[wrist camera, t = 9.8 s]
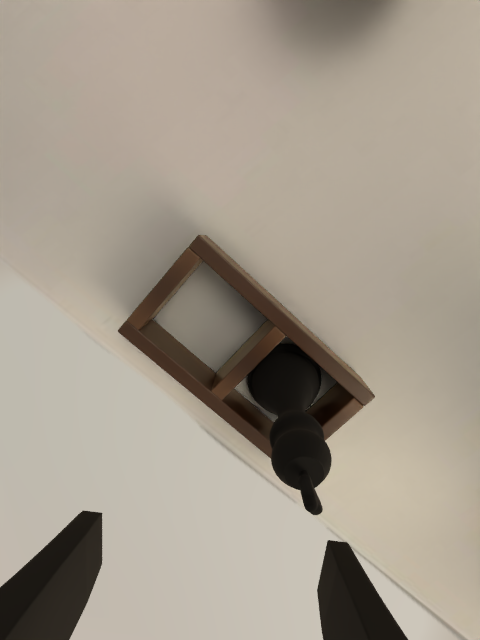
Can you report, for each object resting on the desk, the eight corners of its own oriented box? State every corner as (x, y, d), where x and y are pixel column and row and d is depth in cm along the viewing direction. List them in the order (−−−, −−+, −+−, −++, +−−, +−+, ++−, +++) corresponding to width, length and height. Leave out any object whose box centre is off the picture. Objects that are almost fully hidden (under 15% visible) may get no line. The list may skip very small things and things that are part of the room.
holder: (284, 446, 21) (288, 473, 19) (134, 319, 19) (117, 331, 17) (361, 377, 20) (375, 397, 17) (206, 234, 18) (198, 234, 16)
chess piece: (306, 332, 19) (359, 429, 10) (330, 396, 20) (400, 545, 10) (236, 358, 20) (220, 474, 10) (262, 419, 21) (270, 579, 11)
